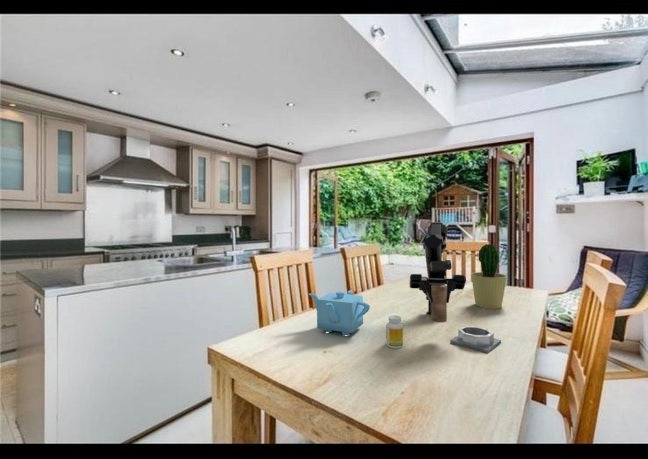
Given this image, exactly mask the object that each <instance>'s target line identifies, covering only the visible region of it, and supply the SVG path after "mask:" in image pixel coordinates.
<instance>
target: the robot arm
mask: <svg viewBox="0 0 648 459" xmlns="http://www.w3.org/2000/svg"><path fill="white" fill-rule="evenodd" d="M446 238H448V227H447V226H446V225H444V223H443V222H441V221H436V222H435V221H432V222H430V225H428V226H427V236H426V237H425V239H424V241H423V244H422V247H423V250H424V254H425V263H426V272H427V276H422V273H411V274H410V275H409V282H408V284H409V288H410V289H418V290H419V291H422V293H423V294H424V295H425V297H426V298H425V299H426V301H428V303H427V304H428V305H427V306H428V307H427V308H428V310H427V311H426V314H428V315H431V303H432V295H431V285H434V284H440V285H446V286H447V304H449V302H450V297H451V293H452V292H454V291H455V290H464V289H465V287H466V286H465V285H466V282H467V278H466V276H465V275H464V274H452V277H451V278H446V277H447V272H446V271H451V269H452V267H453V266H452V260H451V259H445V260H442V259H443V258H442V257H443V255H442V254H443V252H444V251H446V248H447V243H446V241H447V240H446Z"/></svg>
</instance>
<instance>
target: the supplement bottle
mask: <svg viewBox="0 0 648 459" xmlns="http://www.w3.org/2000/svg"><path fill="white" fill-rule="evenodd" d="M385 327H386V330H385V331H386V332H385V333H386V334H385V335H386V340H385V343H386V346H387V347H388V348H391V349H401V348H402V347H404V346H403V345H404V325H403V324H402V317H401V316H400V315H388V322H387V323H386V326H385Z"/></svg>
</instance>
